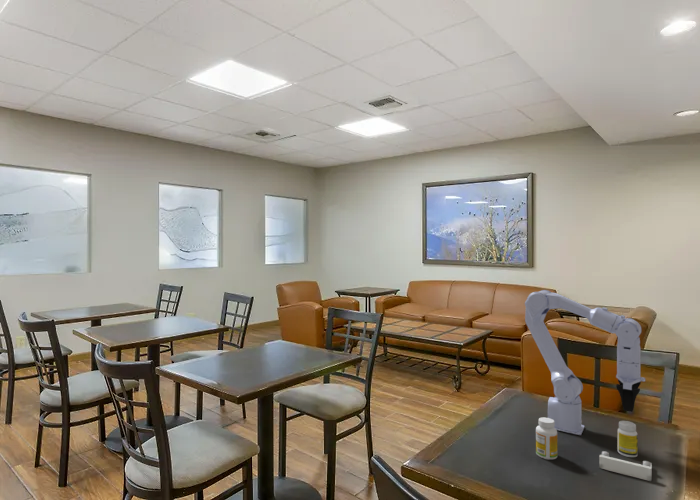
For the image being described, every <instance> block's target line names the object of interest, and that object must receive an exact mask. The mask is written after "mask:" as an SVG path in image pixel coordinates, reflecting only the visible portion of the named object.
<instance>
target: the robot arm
mask: <svg viewBox="0 0 700 500" xmlns="http://www.w3.org/2000/svg"><path fill="white" fill-rule="evenodd" d="M524 306H525V313H524V314H525V315H524V321H525V325H526V326H527V328H528V330H529V332H530V334H531V337H532V338H533V340H534V342H535V344H536V346H537V348H538V350H539V353H540V354H541V356H542V358H543V359H544V362H545V364H546V365H547V368H548V370H549V371H550V375H551V376H550V377H551V379H550V380H551V383H552V386H553V394H554V397H553V396H549V398H548V401H547V418H550V419H553V420H554V422H555V426H554V428H555V429H556V430H557V431H559V432H564V433H568V434H573V435H578V436H582V433H583V431H584V429H585V425H584V424H582V399H581V397H580V394H582V392H583V389H584V386H583V383H582V381H581V380H580V379H579V378H578V377H577V376H576V375H575V374H574V372H573V370H572V369H570V368H569V367H568V366H567V364H566V362H565V359H564V358H563V357H562V354H561V352H560V350H559V349H558V347H557V345H556V343H555V340H554V339H553V336H552V335H551V334H550V331H549V329H548V328H547V326H546V323H545V322H544V321H545V319H546V316H547V313H548V312H549V311H550V310H553V309H554V310H555V309H562V310H564V311H567V312H570V313H573V314H574V315H578V316H581V317H583V318H586V319H587V320H588V322H589V324H590V325H592V326H594V327H596V328H599V329H600V330H603V331H606V332H608V333H609V334H615V335H616V337H617V344H616V357H617V358H616V375H615V378H616V379H617V382H618V383H616V385H615V387H616V390H617V391H618V394H619V397H620V400H621V404H622V409H623V411H625V412H633V411H634V408H635V403H636V402H635V401H636V399H637V396H638V395H639V392H640V391H641V389H640V388H639V387H640V385H641V383H642V382H643V383H644V382H646V377H643V376H641V340H640V339H641V338H640V335H641V334H642V326H641V324H640V323H639V322H638V321H637V320H635V319H633V318H631V317H628V318H627V317H626V316H625V315H623V314H621V315H619V314H616V313H614V312H612V311H609V310H608V309H609V308H607V307H603V306H602V308H601V307H600V306H599V307H595V308H591V307H589V306H586V305H584V304H582V303H580V302H577V301H576V300H573V299H571V298H569V297H566V296H565V295H562V294H559V293H556V292H551V291H550V290H548V289H541V290H539V291H533V292H531V293H529V294H528V296H527V297H526V300H525V302H524Z"/></svg>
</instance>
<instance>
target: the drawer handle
mask: <svg viewBox="0 0 700 500" xmlns="http://www.w3.org/2000/svg"><path fill="white" fill-rule="evenodd" d="M598 459H599V463H598V464H599V466H598V468H599V469H602V470H606V471H610V472H614V473H618V474H621V475H625V476H629V477H633V478H637V479H641V480H645V481H648V482H652V473H653V472H652V469H653V468H652V467H653V465H652V464H653V463H652V462H650V461H648V460H643V461H642V464H640V463H637V462H631V461H628V460H624V459H620V458H616V457H612V456H611V457H610V453H609V451H606V450H605V451H604V450H602V451H601V454H599V457H598Z"/></svg>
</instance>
